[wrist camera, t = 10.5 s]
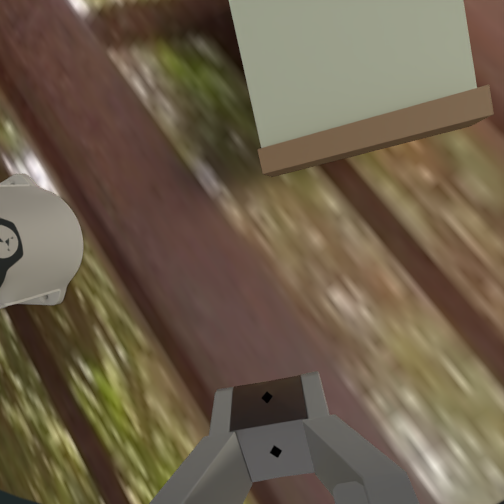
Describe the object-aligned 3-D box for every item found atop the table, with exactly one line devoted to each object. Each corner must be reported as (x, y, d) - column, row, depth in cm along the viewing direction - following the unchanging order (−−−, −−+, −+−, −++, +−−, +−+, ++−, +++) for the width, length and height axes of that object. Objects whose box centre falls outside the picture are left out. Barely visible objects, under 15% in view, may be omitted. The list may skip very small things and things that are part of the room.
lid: (272, 176, 33) (262, 173, 29) (220, -59, 31) (202, -100, 27) (470, 126, 29) (493, 114, 25) (425, -151, 27) (442, -216, 22)
